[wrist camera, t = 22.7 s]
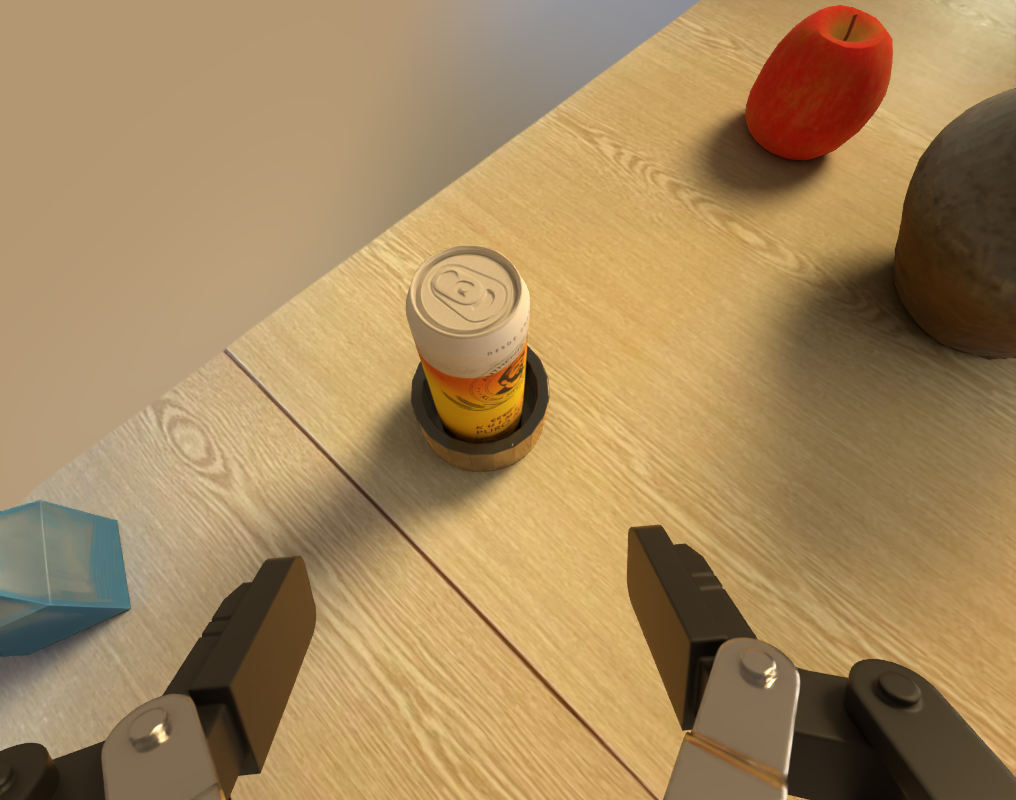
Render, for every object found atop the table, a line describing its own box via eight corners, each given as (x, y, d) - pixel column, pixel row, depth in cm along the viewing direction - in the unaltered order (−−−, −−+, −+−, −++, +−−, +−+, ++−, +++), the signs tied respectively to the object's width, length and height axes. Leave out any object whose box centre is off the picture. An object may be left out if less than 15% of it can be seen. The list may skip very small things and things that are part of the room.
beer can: (491, 467, 35) (482, 368, 22) (423, 422, 37) (374, 303, 23) (537, 402, 37) (555, 273, 24) (471, 362, 39) (452, 219, 25)
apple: (866, 137, 50) (953, 20, 40) (803, 190, 47) (880, 77, 37) (778, 84, 53) (838, -36, 44) (713, 130, 50) (762, 12, 41)
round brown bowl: (498, 497, 35) (497, 482, 31) (394, 426, 37) (382, 405, 34) (568, 396, 38) (574, 372, 35) (469, 337, 40) (465, 308, 37)
